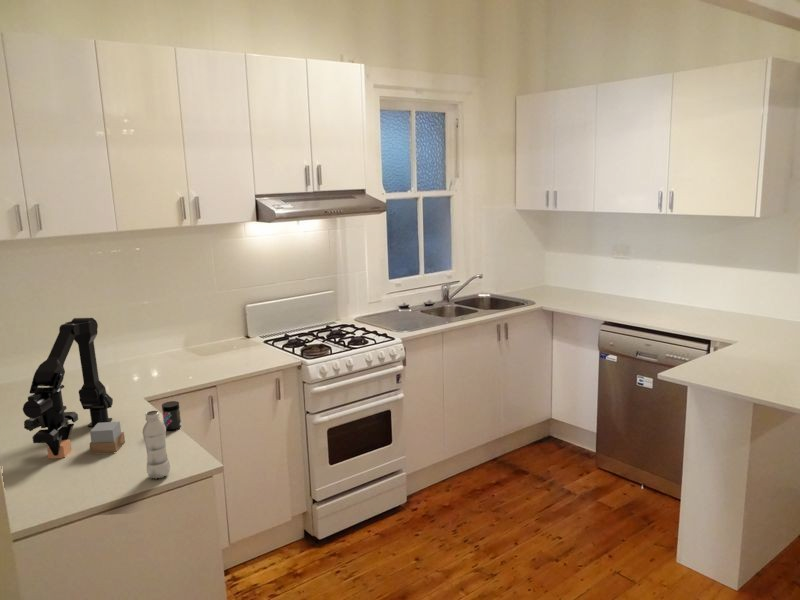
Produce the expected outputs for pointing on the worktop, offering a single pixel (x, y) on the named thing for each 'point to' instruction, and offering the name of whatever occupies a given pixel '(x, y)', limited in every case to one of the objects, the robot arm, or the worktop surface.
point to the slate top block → (105, 432)
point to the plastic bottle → (155, 446)
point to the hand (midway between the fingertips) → (59, 451)
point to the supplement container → (171, 415)
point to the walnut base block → (108, 445)
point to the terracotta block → (61, 449)
